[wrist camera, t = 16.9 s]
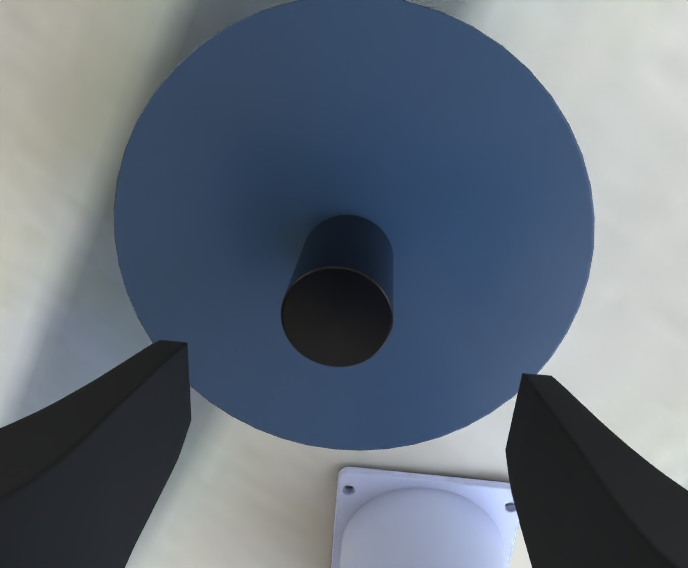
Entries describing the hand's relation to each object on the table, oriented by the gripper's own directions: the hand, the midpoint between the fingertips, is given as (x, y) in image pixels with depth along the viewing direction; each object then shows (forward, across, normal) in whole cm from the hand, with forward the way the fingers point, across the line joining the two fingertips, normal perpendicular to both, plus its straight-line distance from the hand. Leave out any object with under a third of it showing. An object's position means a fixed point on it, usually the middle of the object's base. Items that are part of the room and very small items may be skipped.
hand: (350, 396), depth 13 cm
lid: (+4, 0, -2) cm, 5 cm away
